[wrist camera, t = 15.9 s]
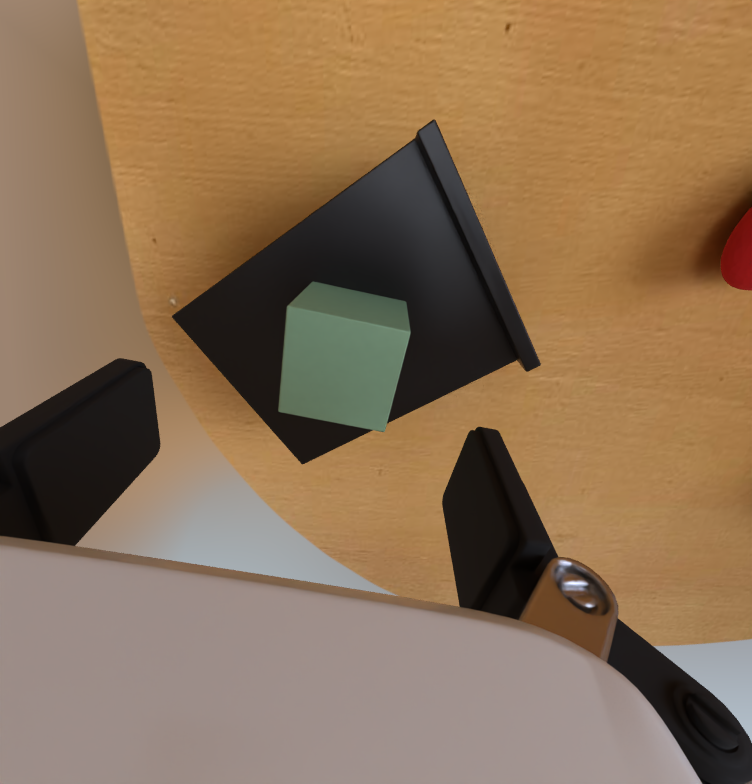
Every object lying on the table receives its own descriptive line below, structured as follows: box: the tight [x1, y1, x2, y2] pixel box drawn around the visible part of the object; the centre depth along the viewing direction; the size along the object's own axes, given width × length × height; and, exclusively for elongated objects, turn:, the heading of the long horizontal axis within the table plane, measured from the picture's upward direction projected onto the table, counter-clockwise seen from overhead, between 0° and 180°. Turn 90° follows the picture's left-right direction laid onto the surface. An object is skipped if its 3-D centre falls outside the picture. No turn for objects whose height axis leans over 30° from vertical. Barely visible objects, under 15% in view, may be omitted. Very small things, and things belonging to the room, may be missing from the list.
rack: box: [172, 119, 541, 464], centre depth 22 cm, size 16×12×8 cm
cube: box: [278, 282, 410, 432], centre depth 17 cm, size 5×5×5 cm
